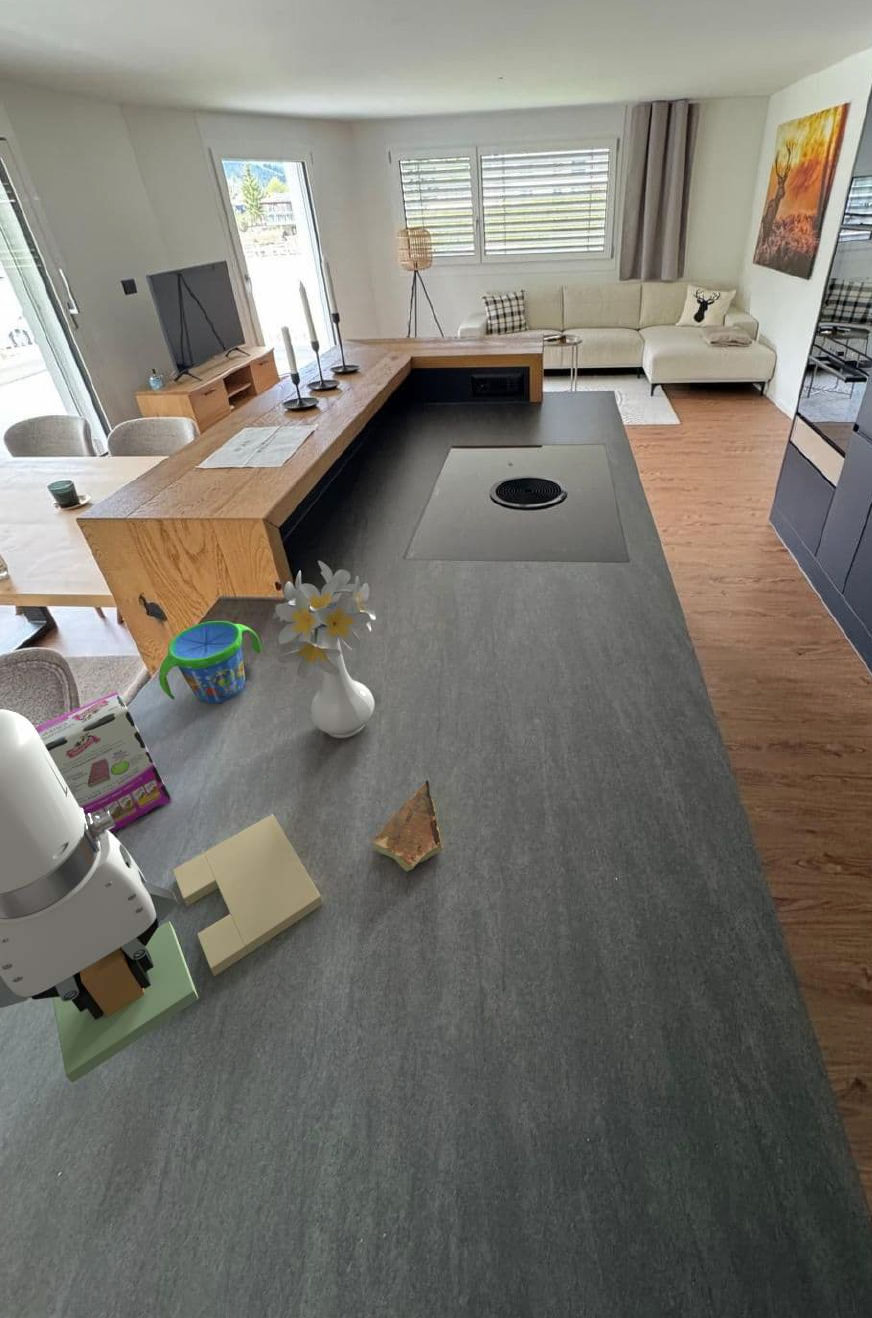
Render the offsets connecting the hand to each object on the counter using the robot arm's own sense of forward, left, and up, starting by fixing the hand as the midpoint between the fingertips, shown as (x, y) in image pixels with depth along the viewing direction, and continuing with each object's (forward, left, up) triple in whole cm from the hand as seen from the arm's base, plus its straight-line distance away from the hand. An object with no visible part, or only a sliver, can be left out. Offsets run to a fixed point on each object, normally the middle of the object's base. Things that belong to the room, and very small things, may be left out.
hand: (120, 987), depth 55 cm
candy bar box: (+3, +29, -9) cm, 31 cm away
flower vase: (+33, +24, -9) cm, 42 cm away
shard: (+30, +3, -9) cm, 32 cm away
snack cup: (+21, +45, -9) cm, 51 cm away
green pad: (0, +2, -2) cm, 3 cm away
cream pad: (+12, +8, -8) cm, 17 cm away
